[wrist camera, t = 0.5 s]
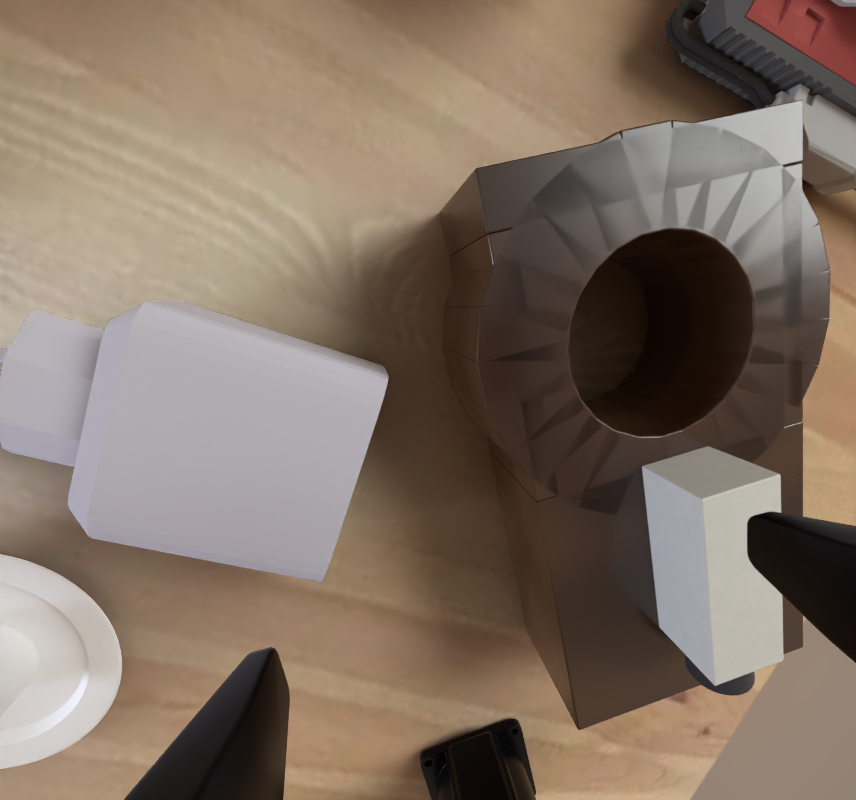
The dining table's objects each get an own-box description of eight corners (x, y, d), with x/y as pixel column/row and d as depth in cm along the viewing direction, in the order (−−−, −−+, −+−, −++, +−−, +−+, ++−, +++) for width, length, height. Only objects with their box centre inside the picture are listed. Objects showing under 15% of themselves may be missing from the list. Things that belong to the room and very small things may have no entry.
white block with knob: (719, 630, 19) (784, 689, 16) (661, 651, 19) (717, 714, 16) (707, 445, 17) (781, 474, 14) (641, 465, 16) (701, 499, 13)
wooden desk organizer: (721, 566, 26) (825, 639, 20) (508, 638, 24) (554, 740, 19) (696, 150, 20) (834, 85, 14) (412, 212, 18) (436, 168, 13)
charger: (28, 249, 16) (384, 364, 20) (-9, 458, 18) (329, 532, 21) (-99, 226, 12) (391, 380, 15) (-135, 509, 13) (321, 594, 17)
